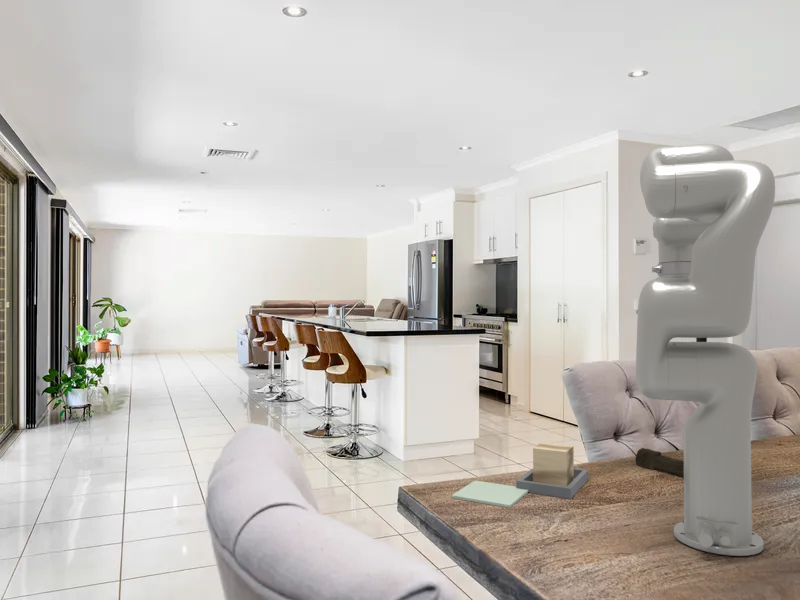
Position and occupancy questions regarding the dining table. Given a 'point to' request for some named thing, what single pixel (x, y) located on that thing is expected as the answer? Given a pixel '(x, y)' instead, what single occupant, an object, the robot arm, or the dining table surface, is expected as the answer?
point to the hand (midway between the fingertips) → (677, 348)
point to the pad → (490, 493)
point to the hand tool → (659, 461)
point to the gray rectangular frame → (550, 489)
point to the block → (553, 464)
